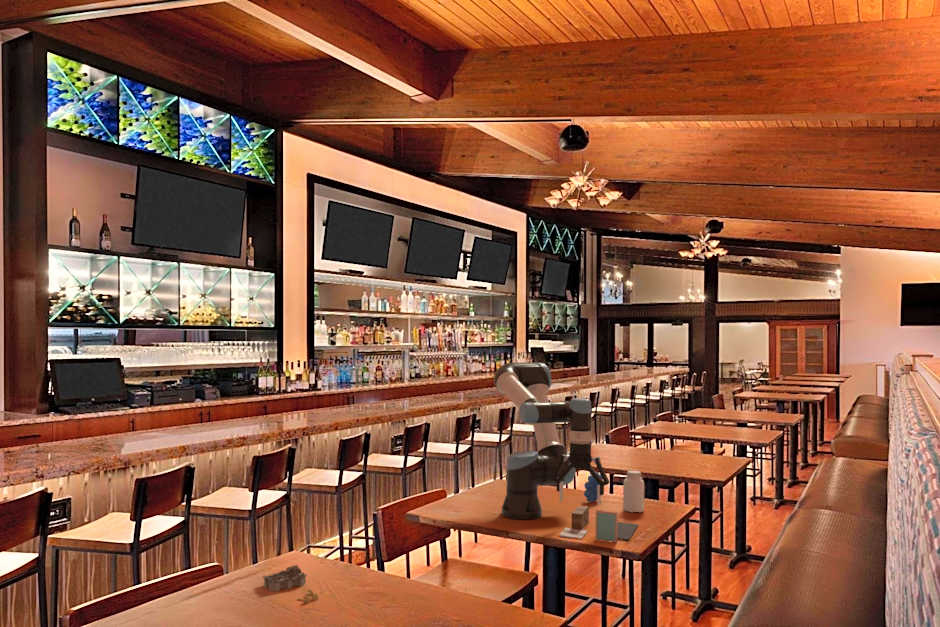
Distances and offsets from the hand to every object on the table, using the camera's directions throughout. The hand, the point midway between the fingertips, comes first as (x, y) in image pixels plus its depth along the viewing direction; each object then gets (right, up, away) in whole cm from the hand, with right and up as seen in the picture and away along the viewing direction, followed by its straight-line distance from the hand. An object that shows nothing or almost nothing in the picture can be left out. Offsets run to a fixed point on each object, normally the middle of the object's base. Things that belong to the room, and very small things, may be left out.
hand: (580, 502), depth 264 cm
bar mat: (+13, -9, -4) cm, 16 cm away
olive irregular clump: (-81, -8, -71) cm, 108 cm away
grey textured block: (-89, -8, -61) cm, 108 cm away
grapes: (+11, -10, +40) cm, 42 cm away
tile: (+7, -9, -16) cm, 19 cm away
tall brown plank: (-1, -9, -2) cm, 9 cm away
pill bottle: (+25, -10, +26) cm, 37 cm away
